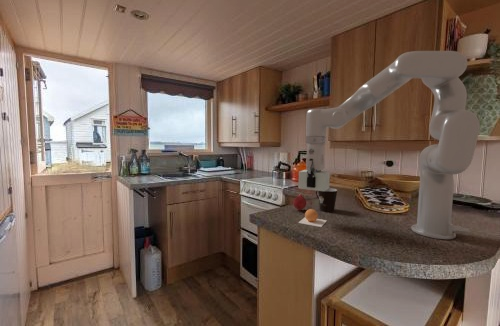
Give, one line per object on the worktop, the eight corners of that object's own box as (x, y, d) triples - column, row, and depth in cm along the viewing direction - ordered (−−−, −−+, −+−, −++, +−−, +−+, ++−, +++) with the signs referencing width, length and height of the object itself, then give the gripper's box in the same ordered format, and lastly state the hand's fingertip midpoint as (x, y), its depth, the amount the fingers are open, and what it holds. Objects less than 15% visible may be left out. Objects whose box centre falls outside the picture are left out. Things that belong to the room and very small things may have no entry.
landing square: (326, 220, 99) (326, 220, 99) (321, 227, 91) (321, 226, 91) (305, 217, 103) (305, 216, 103) (298, 223, 96) (298, 222, 96)
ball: (305, 214, 102) (315, 221, 100) (301, 217, 97) (311, 225, 96) (311, 205, 100) (321, 212, 98) (307, 208, 96) (318, 216, 94)
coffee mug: (339, 213, 110) (340, 191, 109) (320, 212, 110) (320, 191, 110) (331, 206, 122) (331, 186, 121) (313, 206, 122) (314, 186, 121)
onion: (298, 213, 110) (299, 195, 109) (290, 209, 115) (291, 193, 114) (308, 211, 112) (309, 194, 112) (300, 208, 117) (300, 192, 117)
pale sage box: (329, 188, 97) (329, 171, 96) (324, 191, 90) (325, 173, 90) (304, 185, 102) (304, 169, 101) (298, 188, 95) (298, 171, 95)
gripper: (319, 141, 85) (317, 190, 87) (330, 141, 100) (328, 183, 102) (298, 141, 89) (297, 188, 90) (312, 141, 104) (311, 182, 105)
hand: (314, 185), depth 96 cm, fingers closed on pale sage box, 7 cm apart
